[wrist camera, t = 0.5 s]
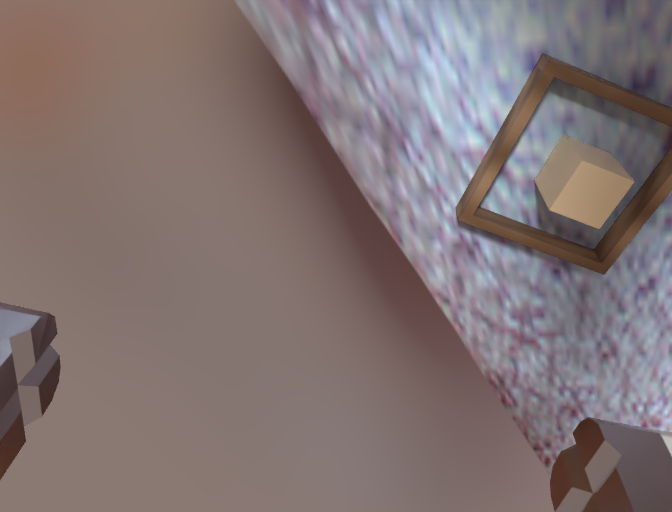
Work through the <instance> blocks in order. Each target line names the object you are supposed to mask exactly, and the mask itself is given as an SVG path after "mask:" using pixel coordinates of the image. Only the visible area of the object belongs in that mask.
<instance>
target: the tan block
mask: <svg viewBox="0 0 672 512" xmlns="http://www.w3.org/2000/svg"><path fill="white" fill-rule="evenodd" d="M534 181H535V183H536V185H537V187H538V189H539V191H540V193H541V195H542V197H543V199H544V201H545V203H546V205H547V207H548V209H549V210H550V211H553V212H555V213H558V214H561V215H563V216H566V217H568V218H571V219H574V220H576V221H579V222H581V223H584V224H587V225H589V226H592V227H594V228H597V229H600V228H601V227H602V225H603V224H604V223H605V221H606V220H607V218H608V217H609V216H610V214H611V213H612V212H613V210H614V209H615V208H616V206H617V205H618V204H619V202H620V201H621V200H622V198H623V197H624V196H625V194H626V193H627V192H628V190H629V189H630V188H631V186H632V185H633V184H634V182H635V181H634V180H633V179H632V178H631V176H630V175H629V174H628V173H627V172H626V170H625V169H624V168H623V167H622V166H621V164H620V163H619V162H618V161H617V160H616V158H615V157H614V156H613V155H612V154H611V153H609V152H606V151H604V150H601V149H599V148H596V147H594V146H592V145H589V144H587V143H584V142H582V141H579V140H577V139H574V138H572V137H569V136H567V135H564V134H563V136H562V137H561V139H560V140H559V142H558V144H557V145H556V147H555V148H554V150H553V151H552V153H551V155H550V156H549V158H548V159H547V161H546V163H545V164H544V166H543V167H542V169H541V170H540V172H539V174H538V175H537V177H536V178H535V180H534Z"/></svg>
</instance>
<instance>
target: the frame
mask: <svg viewBox="0 0 672 512" xmlns="http://www.w3.org/2000/svg"><path fill="white" fill-rule="evenodd" d="M554 77H555V78H557V79H559V80H562V81H564V82H567V83H569V84H571V85H574V86H576V87H578V88H581V89H583V90H586V91H588V92H590V93H593V94H595V95H597V96H600V97H602V98H605V99H607V100H609V101H612V102H614V103H617V104H619V105H621V106H624V107H626V108H628V109H631V110H633V111H636V112H638V113H640V114H643V115H645V116H648V117H650V118H652V119H655V120H657V121H659V122H662V123H664V124H667V125H669V126H671V127H672V108H670V107H668V106H665V105H663V104H661V103H658V102H656V101H654V100H651V99H649V98H647V97H644V96H642V95H640V94H637V93H635V92H632V91H630V90H628V89H625V88H623V87H621V86H618V85H616V84H614V83H611V82H609V81H607V80H604V79H602V78H599V77H597V76H595V75H592V74H590V73H588V72H585V71H583V70H581V69H578V68H576V67H574V66H571V65H569V64H567V63H564V62H562V61H559V60H557V59H555V58H552V57H550V56H548V55H545V54H542V55H541V57H540V59H539V61H538V62H537V64H536V66H535V68H534V70H533V71H532V73H531V75H530V77H529V79H528V80H527V82H526V84H525V86H524V87H523V89H522V91H521V93H520V95H519V96H518V98H517V100H516V102H515V103H514V105H513V107H512V109H511V111H510V112H509V114H508V116H507V118H506V119H505V121H504V123H503V125H502V127H501V128H500V130H499V132H498V134H497V135H496V137H495V139H494V141H493V143H492V144H491V146H490V148H489V150H488V151H487V153H486V155H485V157H484V159H483V160H482V162H481V164H480V166H479V167H478V169H477V171H476V173H475V175H474V176H473V178H472V180H471V182H470V183H469V185H468V187H467V189H466V191H465V192H464V194H463V196H462V198H461V199H460V201H459V203H458V205H457V207H456V212H457V217H458V221H461V222H464V223H467V224H469V225H472V226H475V227H477V228H480V229H483V230H485V231H488V232H491V233H493V234H496V235H499V236H501V237H504V238H507V239H509V240H512V241H515V242H518V243H520V244H523V245H526V246H528V247H531V248H534V249H536V250H539V251H542V252H544V253H547V254H550V255H552V256H555V257H558V258H560V259H563V260H566V261H569V262H571V263H574V264H577V265H579V266H582V267H585V268H587V269H590V270H593V271H595V272H598V273H601V274H603V275H604V274H605V273H606V272H607V271H608V269H609V268H610V267H611V266H612V264H613V263H614V262H615V261H616V259H617V258H618V257H619V255H620V254H621V253H622V252H623V250H624V249H625V248H626V247H627V245H628V244H629V243H630V242H631V240H632V239H633V238H634V237H635V235H636V234H637V233H638V231H639V230H640V229H641V228H642V226H643V225H644V224H645V223H646V221H647V220H648V219H649V218H650V216H651V215H652V214H653V213H654V211H655V210H656V209H657V207H658V206H659V205H660V204H661V202H662V201H663V200H664V199H665V197H666V196H667V195H668V194H669V192H670V191H671V190H672V147H671V148H670V150H669V151H668V152H667V154H666V155H665V156H664V158H663V159H662V160H661V162H660V163H659V164H658V166H657V167H656V168H655V170H654V171H653V172H652V174H651V175H650V176H649V178H648V179H647V180H646V182H645V183H644V184H643V186H642V187H641V188H640V190H639V191H638V192H637V193H636V195H635V196H634V197H633V199H632V200H631V201H630V203H629V204H628V205H627V207H626V208H625V209H624V211H623V212H622V213H621V215H620V216H619V217H618V219H617V220H616V221H615V223H614V224H613V225H612V227H611V228H610V229H609V231H608V232H607V233H606V235H605V236H604V237H603V238H602V240H601V241H600V242H599V244H598V245H597V246H596V248H595V249H594V250H592V249H589V248H587V247H584V246H581V245H579V244H576V243H573V242H571V241H568V240H565V239H563V238H560V237H557V236H555V235H552V234H550V233H547V232H544V231H542V230H539V229H536V228H534V227H531V226H528V225H526V224H523V223H520V222H518V221H515V220H512V219H510V218H507V217H505V216H502V215H499V214H497V213H494V212H491V211H489V210H486V209H483V208H481V207H478V206H479V204H480V202H481V201H482V199H483V197H484V195H485V194H486V192H487V190H488V189H489V187H490V185H491V184H492V182H493V180H494V178H495V177H496V175H497V173H498V172H499V170H500V168H501V167H502V165H503V163H504V161H505V160H506V158H507V156H508V155H509V153H510V151H511V149H512V148H513V146H514V144H515V143H516V141H517V139H518V138H519V136H520V134H521V132H522V131H523V129H524V127H525V126H526V124H527V122H528V120H529V119H530V117H531V115H532V114H533V112H534V110H535V109H536V107H537V105H538V103H539V102H540V100H541V98H542V97H543V95H544V93H545V91H546V90H547V88H548V86H549V85H550V83H551V81H552V80H553V78H554Z"/></svg>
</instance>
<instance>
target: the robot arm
mask: <svg viewBox="0 0 672 512" xmlns="http://www.w3.org/2000/svg"><path fill="white" fill-rule="evenodd" d="M56 335H57V328H56V321H55V316H53V315H51V314H50V313H47V312H43V311H38V310H34V309H29V308H24V307H20V306H15V305H11V304H6V303H2V302H0V480H1V479H2V477H3V476H4V474H5V472H6V471H7V469H8V468H9V466H10V465H11V463H12V462H13V460H14V459H15V457H16V456H17V454H18V453H19V451H20V450H21V448H22V447H23V445H24V443H25V442H26V438H25V431H24V426H26V425H28V424H29V423H31V422H33V421H35V420H37V419H39V418H41V417H42V416H43V414H44V413H45V411H46V409H47V408H48V406H49V405H50V403H51V401H52V399H53V396H54V393H55V391H56V388H57V385H58V383H59V376H60V356H59V355H58V353H57V352H56V351H55V350H54V349H53V348H52V346H51V345H50V343H51V342H52V341H53V339H54V338H55V336H56ZM573 435H574V438H575V441H576V444H575V445H573V446H571V447H569V448H567V449H565V450H563V451H561V452H560V454H559V456H558V458H557V459H556V461H555V463H554V465H553V468H552V474H551V479H550V490H551V499H552V503H553V506H554V510H555V512H672V432H666V431H661V430H655V429H647V428H643V427H638V426H632V425H627V424H622V423H616V422H611V421H605V420H600V419H595V418H589V417H588V418H586V419H584V420H583V421H581V422H580V423H579V424H578V426H577V427H576V429H575V430H574V432H573Z"/></svg>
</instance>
